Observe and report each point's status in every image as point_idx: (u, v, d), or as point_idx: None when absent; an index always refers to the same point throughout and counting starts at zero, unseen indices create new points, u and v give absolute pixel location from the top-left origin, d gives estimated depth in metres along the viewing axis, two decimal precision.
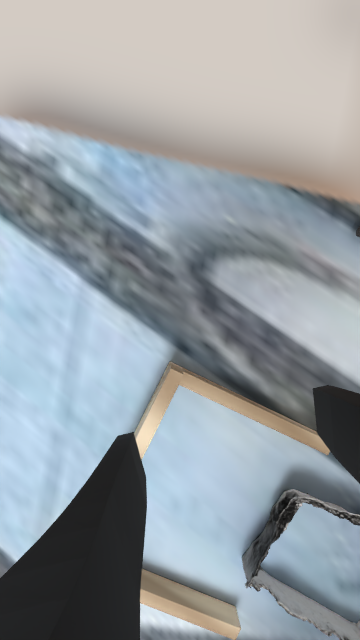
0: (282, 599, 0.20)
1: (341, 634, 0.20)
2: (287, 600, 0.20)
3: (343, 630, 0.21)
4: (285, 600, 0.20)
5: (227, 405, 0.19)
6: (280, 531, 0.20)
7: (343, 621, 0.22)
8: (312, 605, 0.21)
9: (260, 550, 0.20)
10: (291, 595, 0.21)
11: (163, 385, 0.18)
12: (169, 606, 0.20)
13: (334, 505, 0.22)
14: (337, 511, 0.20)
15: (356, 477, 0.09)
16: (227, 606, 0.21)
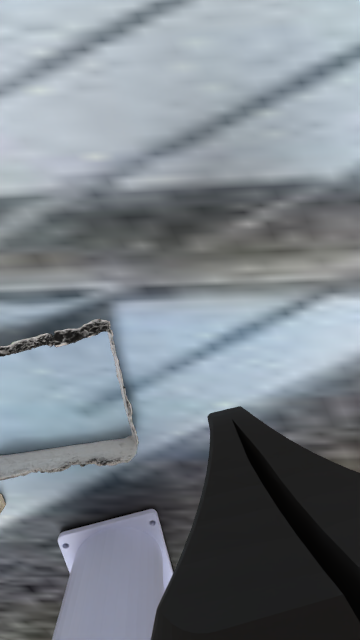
0: (2, 470, 0.18)
1: (86, 459, 0.18)
2: (14, 466, 0.18)
3: (97, 453, 0.19)
4: (8, 468, 0.18)
5: None
6: None
7: (108, 443, 0.19)
8: (61, 451, 0.19)
9: None
10: (27, 458, 0.19)
11: None
12: None
13: None
14: None
15: None
16: None
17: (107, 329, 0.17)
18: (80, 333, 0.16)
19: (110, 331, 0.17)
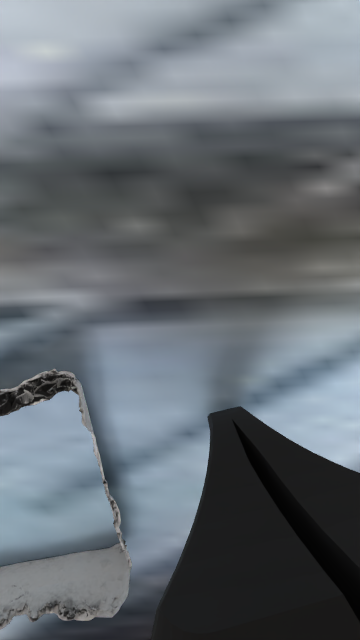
0: None
1: (42, 603, 0.10)
2: None
3: (63, 585, 0.11)
4: None
5: None
6: None
7: (82, 560, 0.12)
8: (3, 578, 0.11)
9: None
10: None
11: None
12: None
13: None
14: None
15: None
16: None
17: (71, 387, 0.09)
18: (18, 397, 0.09)
19: (76, 390, 0.09)
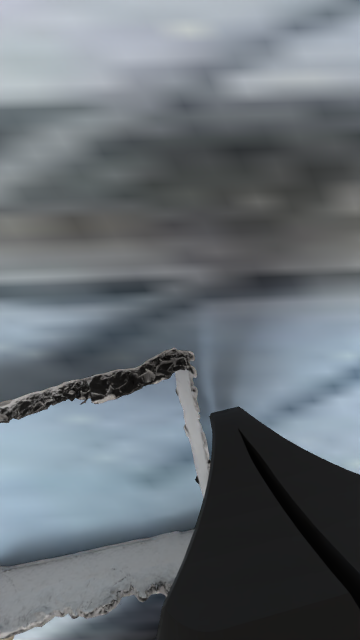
0: (3, 611, 0.10)
1: (147, 584, 0.11)
2: (23, 600, 0.11)
3: (162, 567, 0.11)
4: (13, 606, 0.10)
5: None
6: None
7: (175, 543, 0.12)
8: (100, 562, 0.12)
9: None
10: (46, 579, 0.11)
11: None
12: None
13: None
14: None
15: None
16: None
17: (186, 366, 0.09)
18: (139, 376, 0.09)
19: (191, 369, 0.09)
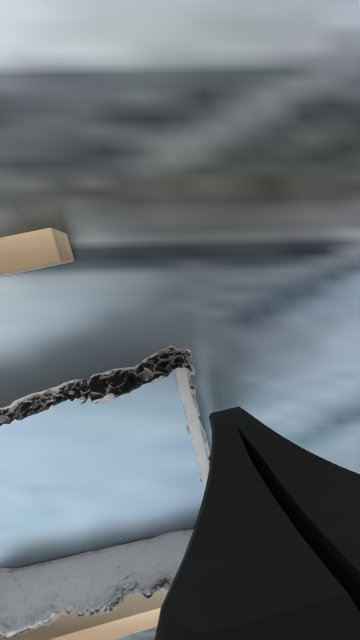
0: (10, 610, 0.10)
1: (151, 581, 0.11)
2: (30, 599, 0.11)
3: (167, 564, 0.11)
4: (20, 605, 0.11)
5: None
6: None
7: (179, 540, 0.12)
8: (105, 561, 0.12)
9: None
10: (52, 578, 0.11)
11: None
12: None
13: None
14: None
15: None
16: None
17: (184, 363, 0.09)
18: (137, 375, 0.09)
19: (189, 367, 0.09)
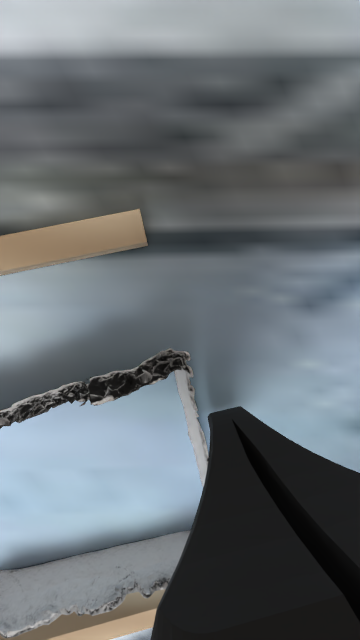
0: (11, 610, 0.11)
1: (151, 581, 0.11)
2: (30, 599, 0.11)
3: (166, 564, 0.11)
4: (21, 605, 0.11)
5: None
6: None
7: (178, 540, 0.12)
8: (105, 561, 0.12)
9: None
10: (52, 578, 0.11)
11: None
12: (92, 634, 0.11)
13: None
14: None
15: None
16: None
17: (182, 366, 0.09)
18: (136, 377, 0.09)
19: (188, 369, 0.09)
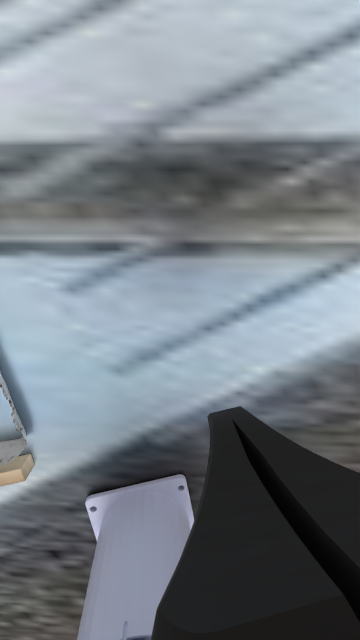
0: None
1: None
2: None
3: None
4: None
5: None
6: None
7: None
8: None
9: None
10: None
11: None
12: None
13: None
14: None
15: None
16: (18, 458, 0.19)
17: None
18: None
19: None
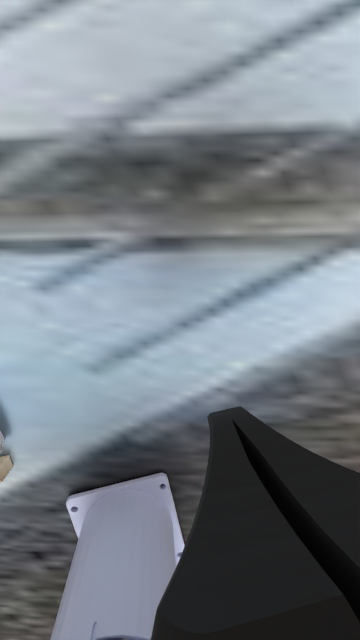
0: None
1: None
2: None
3: None
4: None
5: None
6: None
7: None
8: None
9: None
10: None
11: None
12: None
13: None
14: None
15: None
16: None
17: None
18: None
19: None
